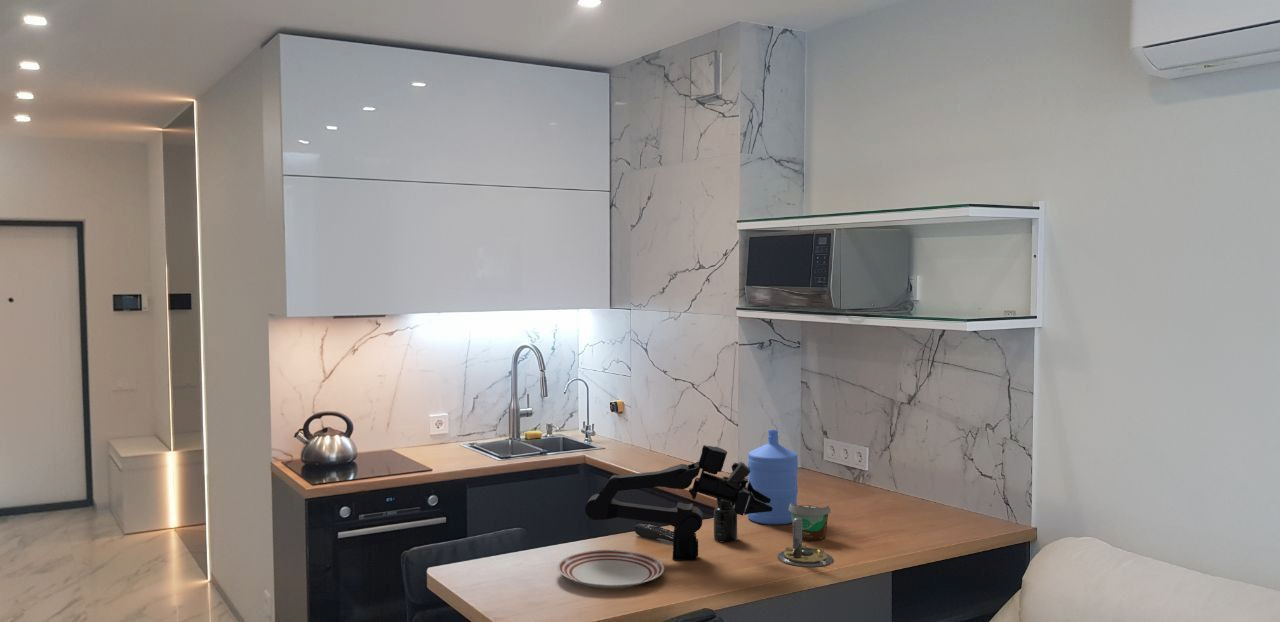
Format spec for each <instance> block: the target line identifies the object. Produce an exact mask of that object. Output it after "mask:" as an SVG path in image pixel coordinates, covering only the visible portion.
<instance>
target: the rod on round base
mask: <svg viewBox="0 0 1280 622" xmlns="http://www.w3.org/2000/svg"><path fill="white" fill-rule="evenodd" d="M802 548H809V549H812V550H813V554H812V555H802ZM783 551H784V558H786V559H787V560H790V561H793V562H798V563H819V561H821V560H822V561H825V560H826V559H827V554H828V553H827V552H826V551H825V549H823V548H814V547H807V545H805V544H804V545H803V541H802V518H793V528H792V547H785V550H783Z"/></svg>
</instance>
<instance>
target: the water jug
mask: <svg viewBox="0 0 1280 622" xmlns="http://www.w3.org/2000/svg"><path fill="white" fill-rule="evenodd" d="M767 432H768V436H767V438H768V440H767V443H766V444H763V445H762V446H759V447H757V448H755V449H753V450H750V451H749V453H748V455H747V456H748V458H747V467H749V468H750V473H749V475H748V477H747V479H748V483H749V481H750V482H751V485H752V487H753V488H754V489H755V490H757V491H758V492H760V493H762V494H763V495H765V496H767V497H768V498H770V499H771V501H770V503H765V504H767V505H769V506H771V507H773V509H772V511H770V512H760V513H752V514H746V516H747V518H748V519H749V520H750V521H752V522H753V523H756V524H761V525H770V526H771V525H773V526H781V525H788V524H792V516H791V512H790V511H789V505H790V504H792V505H798V503H797V502H798V490H799V489H798V487H799V486H798V468H799V459H798V454H797V453H796V452H795V451H793V450H791V449H788V448H787V447H785V446H783V445H781V444H779V435H778V434H779V430H773V429H772V430H771V429H770V430H767ZM748 483H747V484H748Z"/></svg>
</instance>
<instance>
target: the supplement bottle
mask: <svg viewBox="0 0 1280 622" xmlns="http://www.w3.org/2000/svg"><path fill="white" fill-rule="evenodd" d="M716 506H717V507H715V508H714V509H713V538H714V540H715V541H716V540H718V541H717V542H719V541H723V542H722V543H731V542H730V541H732V542H735V541H736V540H737V539H738V514H736V512H735V510H734V506H732V505H731V503H729V502H726V501H723V500H721V501H717V500H716Z"/></svg>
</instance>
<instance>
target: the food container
mask: <svg viewBox="0 0 1280 622" xmlns="http://www.w3.org/2000/svg"><path fill="white" fill-rule="evenodd" d="M789 511H790V512H791V516H792V523H791V525H792V529H793V518H802V542H807V543H809V542H811V543H815V542H816V543H817V542H822V541H824V540H825V539H826V537H827V536H826V535H827V527H828V521H829V519H828V518H829V515H830V514H831V512H832V511H831V507H830V505H827V506H824V507H821V506H820V507H818V506H815V505H810V504H809V505H807V504H806V505H798V504H797V505H792V504H790V505H789Z"/></svg>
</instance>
